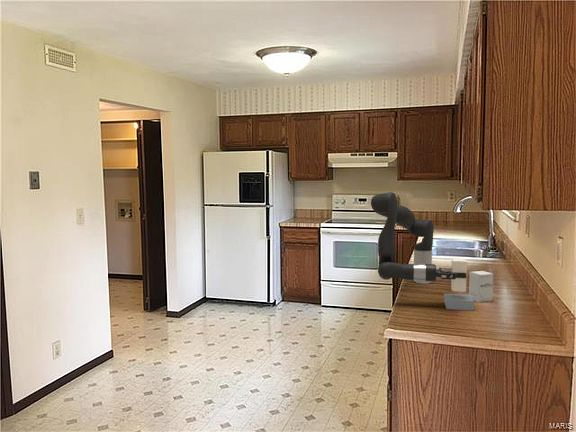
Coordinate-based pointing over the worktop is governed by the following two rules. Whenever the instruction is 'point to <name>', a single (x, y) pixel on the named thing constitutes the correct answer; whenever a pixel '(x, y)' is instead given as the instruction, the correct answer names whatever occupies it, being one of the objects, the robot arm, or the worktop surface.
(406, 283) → the worktop surface
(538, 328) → the worktop surface
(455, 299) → the plinth
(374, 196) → the robot arm
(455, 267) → the cream block
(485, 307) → the worktop surface
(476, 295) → the supplement box
